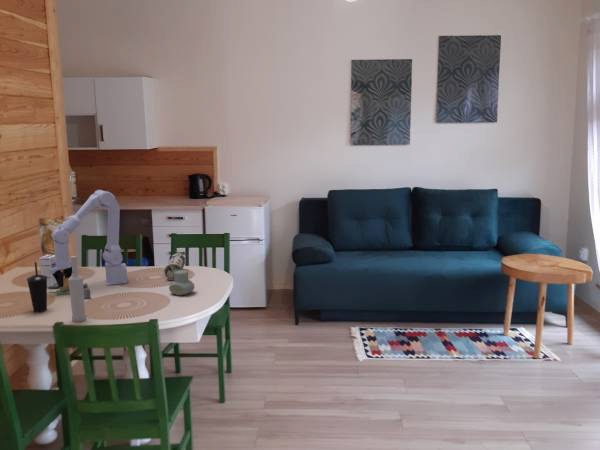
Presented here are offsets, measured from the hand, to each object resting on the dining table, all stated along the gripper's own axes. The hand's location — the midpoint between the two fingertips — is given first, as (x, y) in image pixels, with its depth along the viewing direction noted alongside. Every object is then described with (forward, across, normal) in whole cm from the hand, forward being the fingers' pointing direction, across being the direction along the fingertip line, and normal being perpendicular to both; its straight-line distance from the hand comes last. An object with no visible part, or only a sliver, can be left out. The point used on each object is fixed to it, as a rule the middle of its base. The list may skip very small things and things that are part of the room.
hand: (64, 285), depth 250 cm
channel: (+3, -2, -11) cm, 12 cm away
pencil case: (+3, +40, -32) cm, 51 cm away
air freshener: (+3, +15, -51) cm, 53 cm away
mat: (+3, 0, 0) cm, 3 cm away
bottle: (+3, -26, -31) cm, 41 cm away
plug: (+2, -1, +3) cm, 3 cm away
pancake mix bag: (+3, +22, +26) cm, 35 cm away
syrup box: (+3, +5, +13) cm, 14 cm away
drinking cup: (+3, -23, -9) cm, 25 cm away
